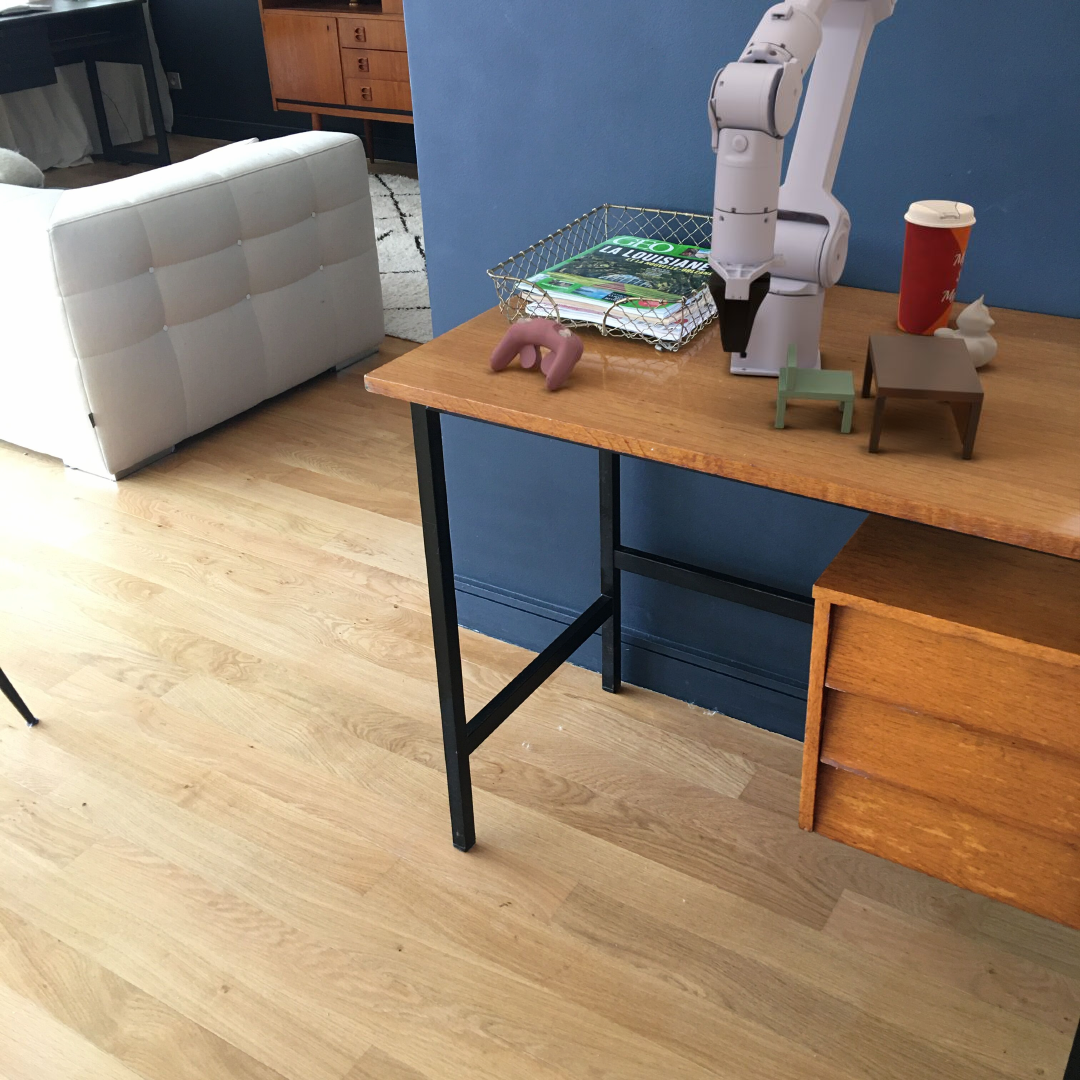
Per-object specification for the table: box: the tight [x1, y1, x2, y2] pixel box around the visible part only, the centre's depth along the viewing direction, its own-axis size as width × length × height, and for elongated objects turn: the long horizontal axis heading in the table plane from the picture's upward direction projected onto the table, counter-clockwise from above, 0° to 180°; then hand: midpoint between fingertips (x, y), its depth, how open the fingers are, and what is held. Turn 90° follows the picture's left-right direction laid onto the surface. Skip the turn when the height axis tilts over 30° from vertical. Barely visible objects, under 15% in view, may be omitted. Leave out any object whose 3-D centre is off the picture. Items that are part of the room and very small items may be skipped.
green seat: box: [774, 344, 856, 434], centre depth 106 cm, size 7×6×6 cm
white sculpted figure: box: [933, 293, 998, 369], centre depth 117 cm, size 5×7×8 cm
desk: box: [860, 333, 985, 460], centre depth 104 cm, size 9×14×6 cm, turn 169°
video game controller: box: [489, 317, 584, 391], centre depth 118 cm, size 10×5×7 cm, turn 47°
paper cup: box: [897, 199, 977, 336], centre depth 126 cm, size 8×8×14 cm
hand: (734, 350), depth 106 cm, fingers closed
